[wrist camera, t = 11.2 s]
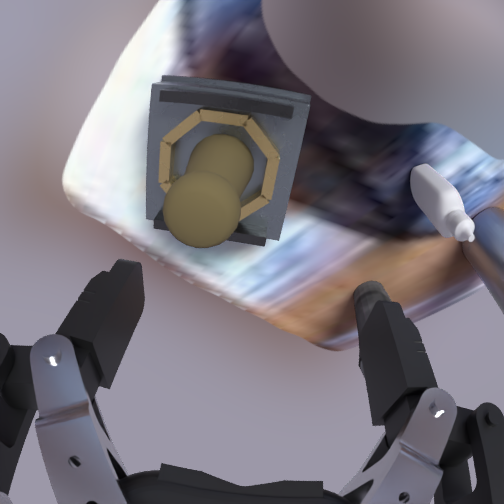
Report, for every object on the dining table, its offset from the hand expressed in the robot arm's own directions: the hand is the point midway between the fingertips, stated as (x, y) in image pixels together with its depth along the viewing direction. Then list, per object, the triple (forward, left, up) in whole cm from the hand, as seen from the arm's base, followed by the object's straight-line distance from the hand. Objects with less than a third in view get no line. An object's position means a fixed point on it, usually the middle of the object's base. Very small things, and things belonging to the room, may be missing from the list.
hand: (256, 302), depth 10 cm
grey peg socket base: (+4, +3, -25) cm, 26 cm away
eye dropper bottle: (-19, +2, -25) cm, 32 cm away
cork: (+4, +3, -20) cm, 21 cm away
